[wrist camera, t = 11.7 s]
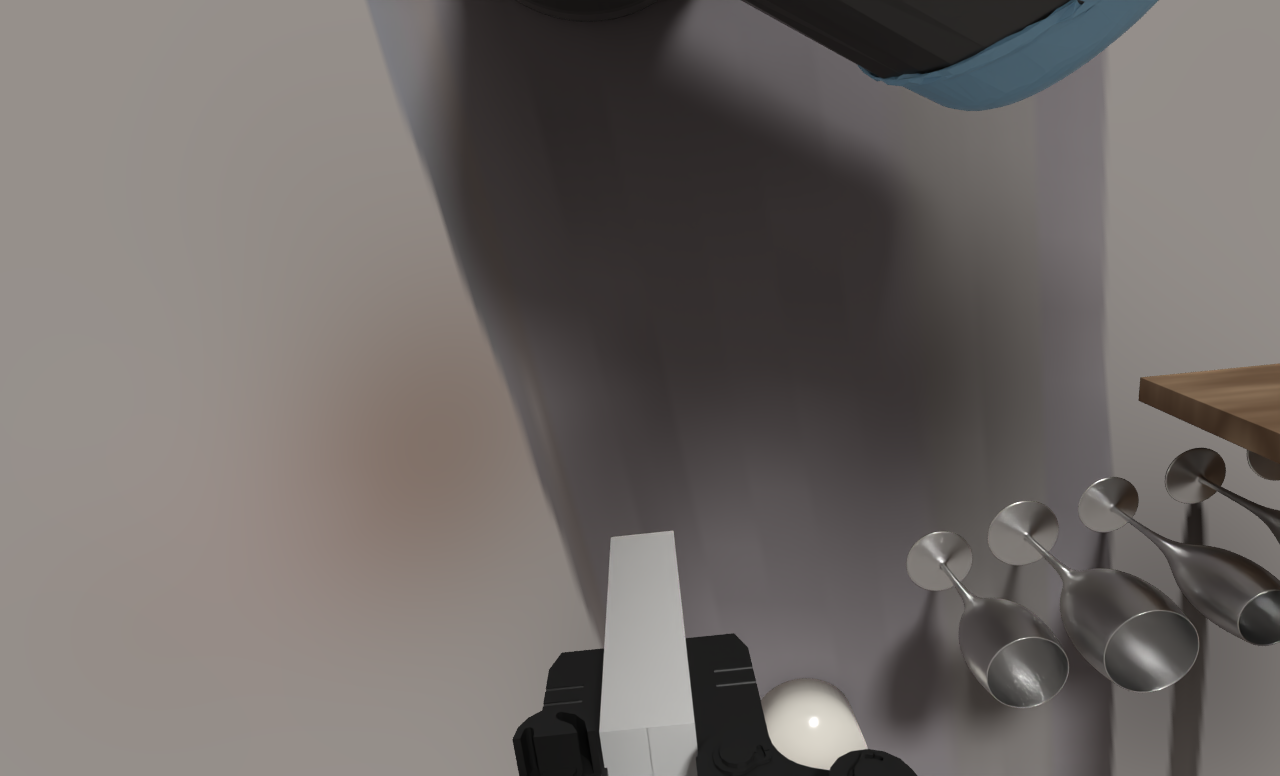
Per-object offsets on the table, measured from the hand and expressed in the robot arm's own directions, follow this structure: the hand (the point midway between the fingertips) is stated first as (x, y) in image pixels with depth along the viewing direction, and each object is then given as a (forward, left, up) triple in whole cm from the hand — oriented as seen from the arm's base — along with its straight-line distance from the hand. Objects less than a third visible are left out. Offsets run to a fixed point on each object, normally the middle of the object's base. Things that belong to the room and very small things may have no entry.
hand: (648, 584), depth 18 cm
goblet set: (+14, +30, -30) cm, 44 cm away
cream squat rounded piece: (+29, +9, -29) cm, 42 cm away
